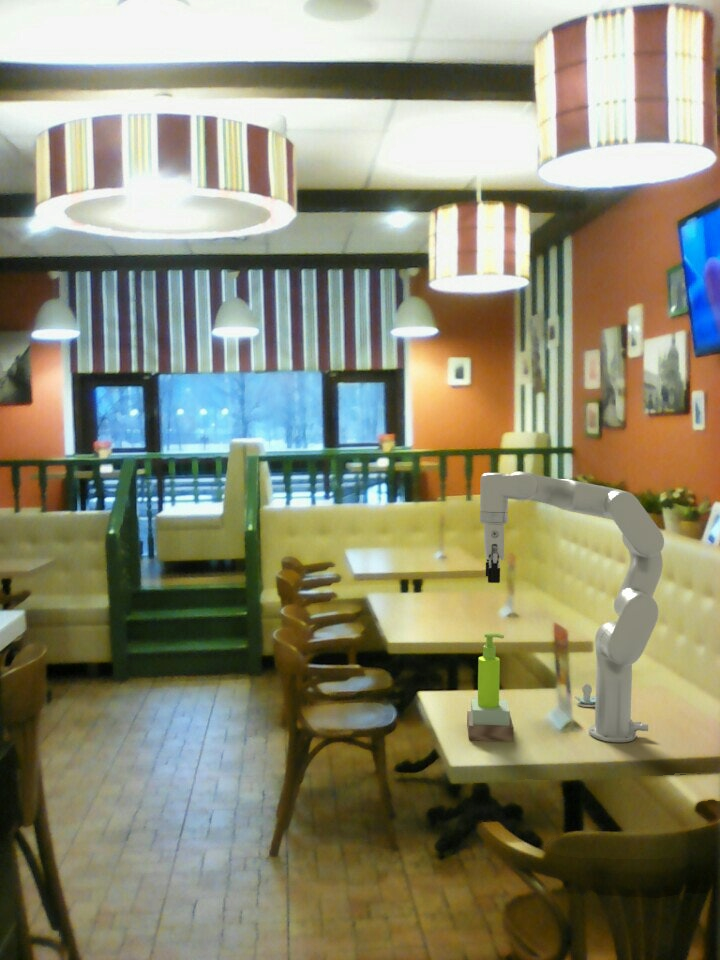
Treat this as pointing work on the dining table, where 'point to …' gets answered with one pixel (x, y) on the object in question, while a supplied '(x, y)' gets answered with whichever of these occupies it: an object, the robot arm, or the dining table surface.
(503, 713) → the pale green square tile
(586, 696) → the pacifier
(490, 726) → the riser base
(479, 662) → the soap dispenser
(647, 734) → the dining table surface
